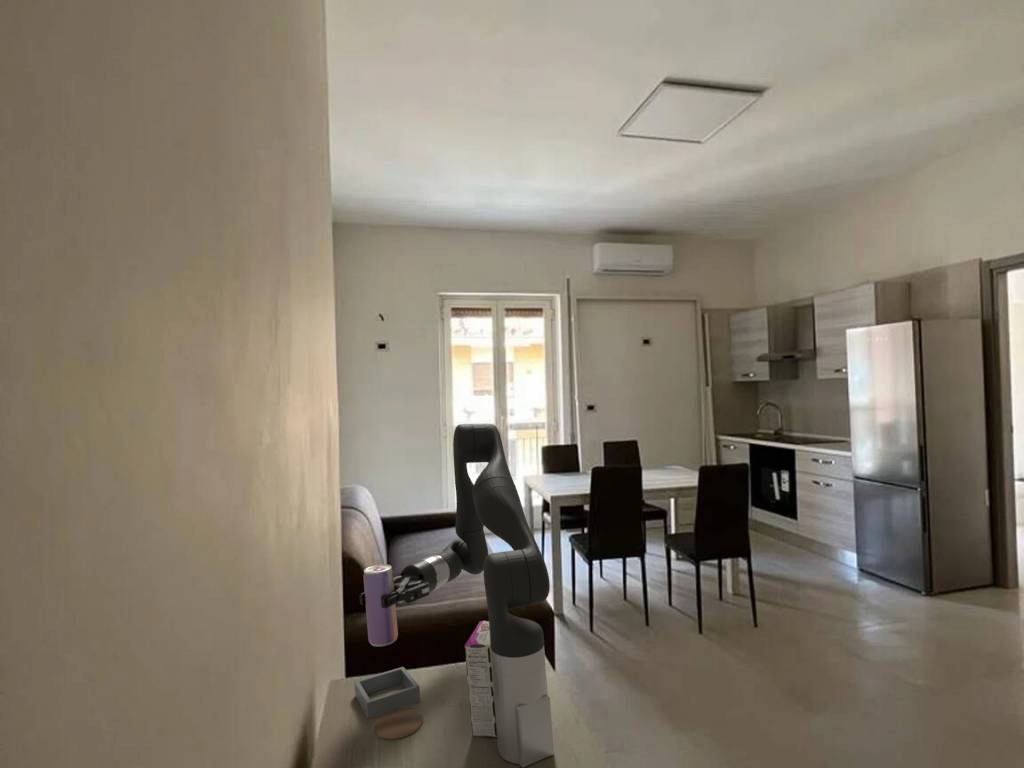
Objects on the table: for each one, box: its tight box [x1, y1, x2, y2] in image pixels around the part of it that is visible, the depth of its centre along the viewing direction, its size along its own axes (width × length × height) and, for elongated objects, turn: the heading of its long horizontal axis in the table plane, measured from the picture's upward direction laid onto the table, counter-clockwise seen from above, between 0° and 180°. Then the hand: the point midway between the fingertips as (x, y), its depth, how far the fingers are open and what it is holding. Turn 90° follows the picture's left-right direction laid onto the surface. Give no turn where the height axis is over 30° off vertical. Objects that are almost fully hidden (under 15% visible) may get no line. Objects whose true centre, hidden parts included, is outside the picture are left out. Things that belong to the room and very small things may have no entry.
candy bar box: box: [464, 620, 497, 738], centre depth 105 cm, size 11×5×16 cm, turn 168°
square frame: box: [354, 666, 421, 720], centre depth 116 cm, size 11×11×3 cm
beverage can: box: [362, 563, 399, 648], centre depth 116 cm, size 6×6×15 cm
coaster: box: [373, 708, 424, 740], centre depth 106 cm, size 9×9×1 cm
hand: (372, 601), depth 114 cm, fingers closed on beverage can, 5 cm apart
